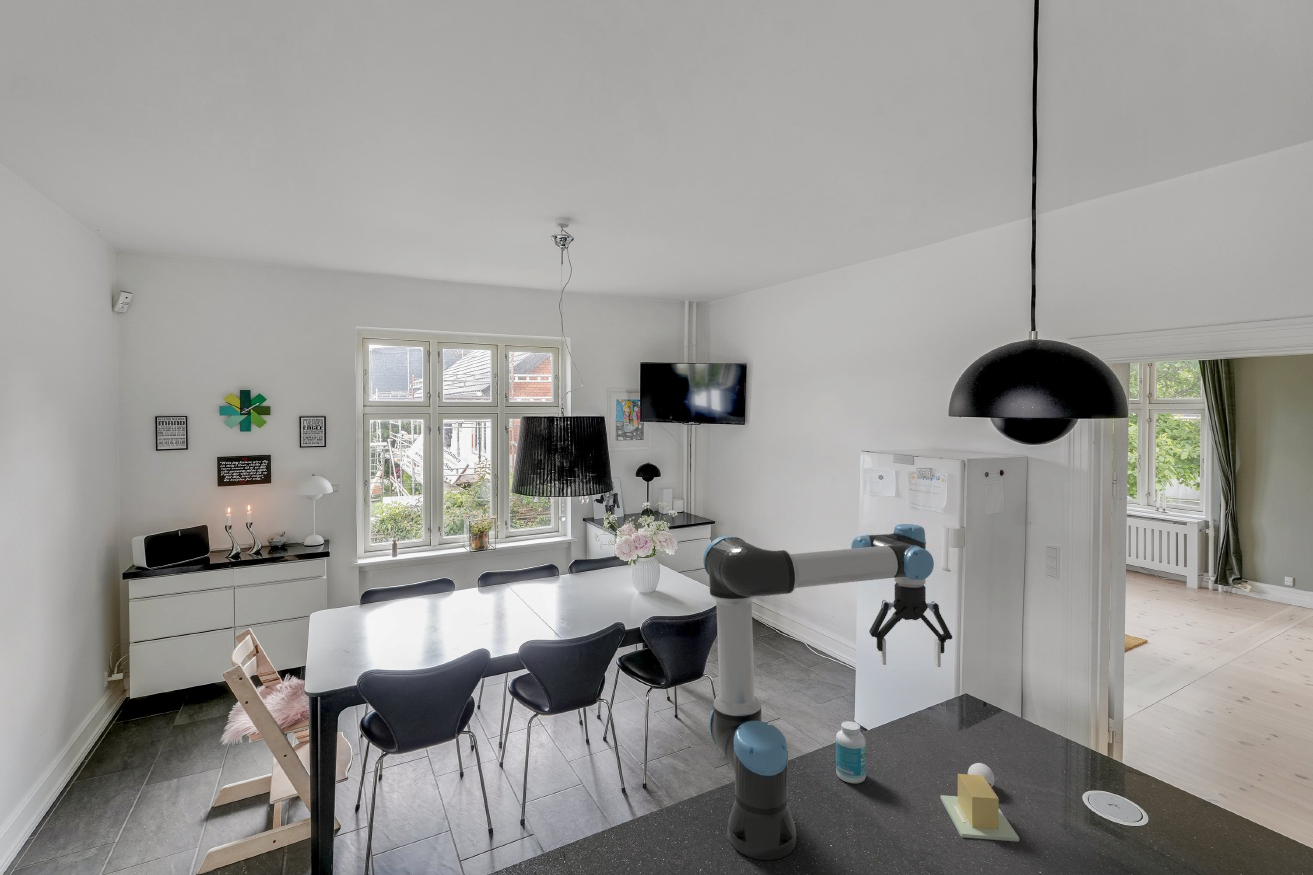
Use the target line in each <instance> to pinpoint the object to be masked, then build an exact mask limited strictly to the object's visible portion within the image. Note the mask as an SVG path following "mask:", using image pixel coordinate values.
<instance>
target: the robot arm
mask: <svg viewBox="0 0 1313 875" xmlns="http://www.w3.org/2000/svg"><path fill="white" fill-rule="evenodd" d="M893 529H894V530H893V532H892V533H887V534H886V533H885V534H884V533H883V534H864V535H858V536H856V537H855V538H854V539H852V542H851V545H850V547H851V548H846V549H835V550H823V551H821V550H820V551H812V552H811V551H810V552H801V553H790V552H788V551H787V550H786V549H782V550H769V549H764V548H761V547H758V546H755V545H752V544H750V543H749V542H747V541H745V540H744V539H742V538H740V537H738V536H733V535H724V536H720V537H718V538H715V539H713V540H712V541H711V542H710V543H709V544H708V545H707V547H706V549H705V551H704V554H703V559H702V560H703V561H702V562H703V567H704V569H705V572H706V573H707V575H708V580H709V595H710V596H711V597H712V598H713V599H714V600H715V601H716V602H715V603H716V624H717V625H716V628H717V629H716V631H717V633H716V634H717V658H718V659H717V660H718V661H717V662H718V688H719V690H718V691H719V693H718V694H719V695H718V696H716V697H715V698H714V701H713V709H712V710H711V712H710V715H709V717H708V728H709V732H710V736H711V738H712V740H713V743H714V744H715V746H716V748H718V750H719V751H720V753H721V754H722V756H723V757H724V758H725V760H726V762H728V764H729V766H730V767H731V769H732V771H733V774H734V795H735V796H734V802H733V805H732V808H731V811H730V814H729V816H728V821H727V837H728V838H727V839H728V840H729V843H730V844H731V846H732V847H733V849H735V850H736V851H737V852H739V853H740V854H742V855H743V856H746V857H748V858H751V859H753V860H754V859H755V860H759V861H773V860H774V861H775V860H780V859H782V858H784V857H785V858H786V857H787V856H788V855H790V854H791V853H792V851H793V850H794V849H795V848H796V845H797V829H796V825H795V823H794V819H793V816H792V812H791V810H790V807H789V799H788V793H789V792H788V791H789V789H788V788H789V786H788V784H789V782H788V778H789V777H788V770H789V768H788V767H789V765H788V764H789V763H788V762H789V751H788V750H789V749H788V744H787V743H788V742H787V740H786V736H785V735H784V734H783V732H782V731H781V730H780V729H779V728H778V727H777V726H775V725H773V724H768V722H766V721H762V720H763V719H762V718H763V716H762V702H761V700H760V699H759V698H758V697H757V696H756V694H755V670H754V669H755V667H754V662H755V661H754V636H753V634H754V633H753V632H754V631H753V606H752V604H753V602H752V601H753V600H754V599H755V598H757V597H758V598H759V597H767V596H768V597H769V596H771V597H772V596H778V595H787V594H792V593H793V592H794V591H795V589H798V588H799V589H801V588H809V587H818V586H827V585H829V586H830V585H837V584H847V583H854V582H857V583H858V582H866V581H867V582H868V581H874V580H875V581H876V580H884V579H891V578H892V579H894V582H895V584H894V600H893V602H891V601H887V600H885V599H883V600H882V601H881V607H880V609H879V612H878V614H877V615H876V618H875V620H874V621H873V624H872V626H871V627H870V629H869V632H868V633H869V634H870V636H871V637H872V638H876V649H877V650H878V652H880V662H881V664H882V665H883V666H886V665H887V640H886V638H885V637H886V636H887V635H888V633H890V631H892V629H893V628H894V627H895V626H896V625H897V624H898V623H900V621H901V620H905V621H909V620H912V621H918V620H920V619H921V620H922V622H923V623H924V624H925V625H926V626H927V627H928V628H929V629H930V631H931V632H932V633H933V634H934V635H935V636H936V638H934V639H933V644H934V646H933V647H934V648H933V650H934V652H933V654H934V655H933V659H934V660H933V662H934V665H935V666H936V667H937V668H941V667H942V664H941V662H942V660H941V657H942V656H941V655H942V654H944V653H945V643H947V641H948V640H952V639H953V635H952V633H951V631H950V630H949V629H950V628H949V627H948V626H947V624H946V622H945V620H944V618H943V616H942V614H941V612H940V606H939V604H938V603H937V602H936V601H931V602H928V603H927V602H926V589H927V588H926V586H925V584H926V579H927V578H928V577H930V576H931V574H932V573H933V571H934V566H935V563H934V557H933V555H932V553H930V551H929V550H927V549H926V546H927V542H926V531H925V528H924V527H922V526H921V525H918V524H913V523H912V524H911V523H900V524H895V526H894V528H893ZM892 608H894V610H895V611H894V612H893V613H892V615H891V616H890V618H888V620H887V621H886V622H885V623H884V621H885V619H886V617H887V615H888V612H889V611H891V610H892ZM928 609H929V611H930V612H932V614H933V616H934V618H935V620H936V622H937V623H938V625H939V627H940V630H941V631H942V633H941V632H940V631H939V630H938V629H937V628H936V627H935V625H933V623H932V622H931V621H930V620H929V619H928V617H926V615H925V612H926V611H927V610H928ZM883 623H884V624H883Z"/></svg>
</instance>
